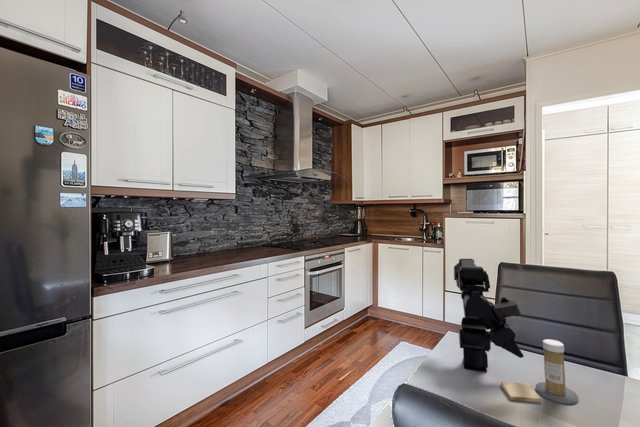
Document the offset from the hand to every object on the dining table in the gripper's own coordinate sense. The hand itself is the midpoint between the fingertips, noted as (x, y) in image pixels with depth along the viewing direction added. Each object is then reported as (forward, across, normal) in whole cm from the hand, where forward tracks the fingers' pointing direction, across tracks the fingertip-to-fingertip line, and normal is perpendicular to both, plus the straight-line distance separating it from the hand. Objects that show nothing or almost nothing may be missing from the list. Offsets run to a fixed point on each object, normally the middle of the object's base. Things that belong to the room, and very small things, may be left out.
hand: (518, 350), depth 86 cm
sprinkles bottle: (+12, -4, 0) cm, 12 cm away
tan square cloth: (+6, -7, +7) cm, 11 cm away
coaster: (+12, -4, 0) cm, 12 cm away
